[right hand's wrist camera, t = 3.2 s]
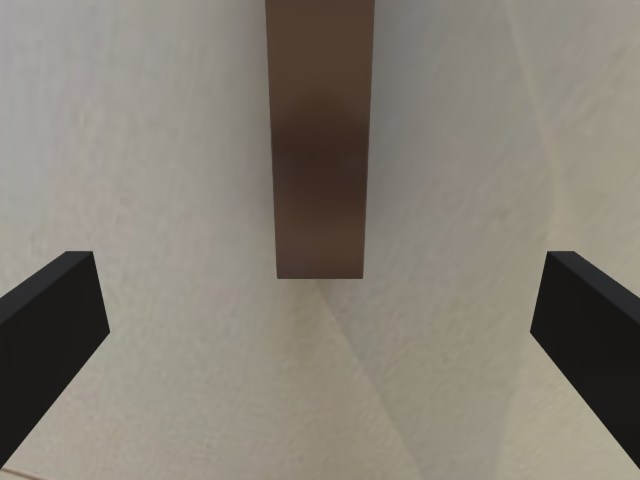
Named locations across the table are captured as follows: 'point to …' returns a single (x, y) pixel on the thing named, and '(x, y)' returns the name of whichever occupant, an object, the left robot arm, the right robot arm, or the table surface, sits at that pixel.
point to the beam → (320, 133)
